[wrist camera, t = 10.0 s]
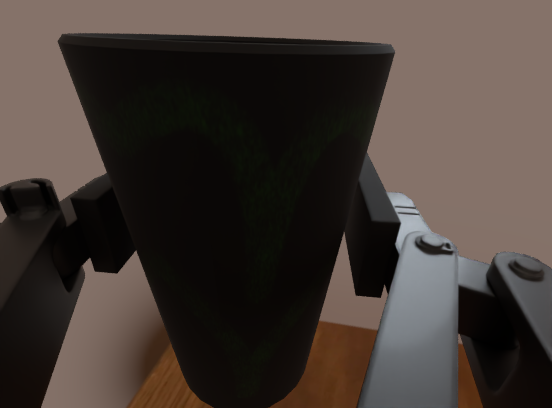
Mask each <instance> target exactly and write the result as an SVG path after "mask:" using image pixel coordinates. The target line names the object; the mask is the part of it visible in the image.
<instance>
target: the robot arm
mask: <svg viewBox="0 0 552 408" xmlns="http://www.w3.org/2000/svg"><path fill="white" fill-rule="evenodd" d="M0 202H1V204H2V206H3V208H4V210H5V213H6V215H7V217H6V219H5V220H4V221H3V222H2V223H0V408H41V406H42V403H43V400H44V396H45V394H46V391H47V388H48V385H49V382H50V379H51V376H52V373H53V370H54V367H55V364H56V361H57V358H58V355H59V353H60V350H61V347H62V344H63V340H64V338H65V335H66V332H67V329H68V326H69V323H70V320H71V317H72V314H73V311H74V308H75V305H76V302H77V299H78V296H79V293H80V290H81V288H82V285H83V282H84V279H85V272H84V269H83V266H82V265H83V264H84V263H85V262H86V261H87V260H88V259H89V258H91V261H92V264H93V267H94V270H95V272H107V273H118V272H119V271H120V269H121V268H122V267H123V265H125V263H126V262H127V261H128V259H129V258H130V257H131V256H132V255H133V253H134V252H135V251H136V248H135V246H134V243H133V240H132V238H131V235H130V232H129V230H128V227H127V224H126V222H125V219H124V216H123V214H122V211H121V208H120V206H119V203H118V200H117V198H116V195H115V192H114V190H113V187H112V184H111V182H110V179H109V176H108V174H107V173H106V174H104V175H102V176H100V177H97V178H95V179H93V180H92V181H90V182H89V183H87V184H86V185H85V186H83V187H81V188H80V189H78V191H75V192H74V193H72V194H71V195H69V196H68V197H66V198H65V199H63V200H62V201H60V202H59V200H58V198H57V195H56V192H55V189H54V187H53V184H52V182H51V181H50V180H48V179H42V178H40V179H39V178H38V179H37V178H34V179H26V180H20V181H16V182H12V183H9V184H7V185H4V186H2V187H0ZM344 232H345V238H346V243H347V249H348V255H349V260H350V266H351V272H352V277H353V283H354V289H355V294H356V296H366V297H377V298H381V295H382V292H383V288H384V284H385V286H386V290H387V293H388V297H387V300H386V303H385V307H384V311H383V314H382V318H381V321H380V325H379V329H378V332H377V335H376V339H375V343H374V346H373V350H372V353H371V357H370V360H369V364H368V368H367V371H366V375H365V378H364V382H363V385H362V389H361V392H360V396H359V400H358V403H357V407H356V408H458V334H460V336H461V339H462V343H463V346H464V349H465V352H466V355H467V358H468V361H469V364H470V367H471V370H472V374H473V377H474V380H475V383H476V386H477V389H478V392H479V395H480V398H481V402H482V405H483V408H552V269H551V268H550V267H549V266H547V265H545V264H544V263H542V262H540V261H539V260H538V259H535V258H533V257H531V256H528V255H525V254H519V253H515V252H501V253H497V254H496V256H495V257H494V258H493V260H492V262H491V264H487V263H484V262H480V261H476V260H472V259H468V258H465V257H462V256H459V255H458V250H457V247H456V246H455V245H454V244H453V243H452V242H451V241H450V240H448V239H446V238H445V237H443V236H441V235H438V234H435V233H432V232H431V231H430V229H429V227H428V226H427V224H426V223H425V221H424V219H423V218H422V216H421V215H420V213H419V211H418V210H417V209H416V206H415V205H414V203H413V201H412V200H411V199H410V198H408V197H407V196H405V195H404V194H403V193H397V192H386V190H385V189H384V187H383V184H382V183H381V180H380V178H379V176H378V174H377V172H376V170H375V168H374V166H373V164H372V162H371V160H370V158H369V156H368V154H367V153H366V156H365V160H364V163H363V167H362V170H361V174H360V177H359V181H358V184H357V188H356V191H355V195H354V198H353V202H352V205H351V209H350V212H349V216H348V219H347V223H346V226H345V230H344Z"/></svg>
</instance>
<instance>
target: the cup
mask: <svg viewBox="0 0 552 408" xmlns="http://www.w3.org/2000/svg"><path fill="white" fill-rule="evenodd" d="M58 44H59V46H60V49H61V51H62V54H63V57H64V60H65V62H66V65H67V68H68V70H69V73H70V76H71V78H72V81H73V83H74V86H75V89H76V91H77V94H78V97H79V99H80V102H81V105H82V107H83V110H84V113H85V115H86V118H87V121H88V123H89V126H90V129H91V131H92V134H93V137H94V139H95V142H96V145H97V147H98V150H99V153H100V155H101V158H102V161H103V163H104V166H105V168H106V171H107V174H108V176H109V179H110V182H111V184H112V187H113V190H114V192H115V195H116V198H117V200H118V203H119V206H120V208H121V211H122V214H123V216H124V219H125V222H126V224H127V227H128V230H129V232H130V235H131V238H132V240H133V243H134V246H135V248H136V251H137V254H138V256H139V259H140V261H141V264H142V267H143V269H144V272H145V275H146V277H147V280H148V283H149V285H150V288H151V291H152V293H153V296H154V299H155V301H156V304H157V306H158V309H159V312H160V315H161V317H162V320H163V323H164V325H165V328H166V331H167V333H168V336H169V339H170V341H171V344H172V347H173V349H174V352H175V355H176V357H177V360H178V363H179V365H180V368H181V370H182V373H183V376H184V378H185V380H186V382H187V384H188V386H189V388H190V389H191V390H192V391H193V392H194V393H195V394H196V396H197V397H198V398H199V399H200V400H202V401H203V402H205V403H207V404H209V405H210V406H212V407H214V408H268V407H270V406H272V405H273V404H275V403H277V402H278V401H280V400H282V399H284V398H285V397H286V396H287V395H288V394H289V393H290V392H291V391H292V390H293V389H294V388H295V387H296V385H297V384H298V382H299V380H300V378H301V377H302V375H303V373H304V371H305V367H306V364H307V360H308V357H309V353H310V350H311V346H312V343H313V339H314V336H315V332H316V328H317V325H318V321H319V318H320V314H321V311H322V307H323V304H324V300H325V297H326V293H327V290H328V286H329V283H330V279H331V275H332V272H333V268H334V265H335V262H336V258H337V255H338V251H339V247H340V244H341V241H342V237H343V234H344V230H345V226H346V223H347V219H348V216H349V212H350V209H351V205H352V202H353V198H354V195H355V191H356V188H357V184H358V181H359V177H360V174H361V170H362V167H363V163H364V160H365V156H366V153H367V149H368V146H369V142H370V139H371V135H372V132H373V128H374V125H375V121H376V117H377V113H378V110H379V107H380V103H381V100H382V96H383V93H384V89H385V86H386V82H387V79H388V75H389V72H390V68H391V65H392V61H393V57H394V54H395V50H394V49H393V47H392V45H390V44H381V43H367V42H351V41H350V42H349V41H332V40H310V39H286V38H259V37H231V36H230V37H229V36H197V35H196V36H194V35H159V34H103V33H102V34H99V33H82V34H81V33H78V34H62V36H61V37H60V38H59V40H58Z"/></svg>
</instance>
